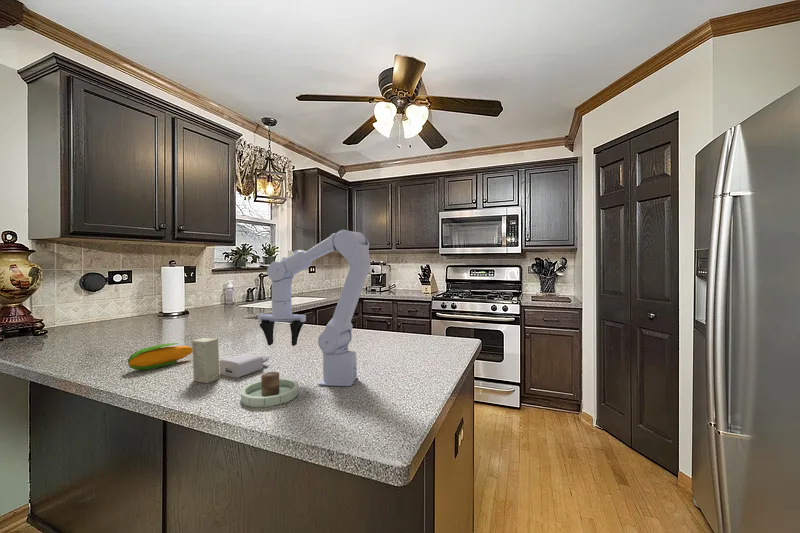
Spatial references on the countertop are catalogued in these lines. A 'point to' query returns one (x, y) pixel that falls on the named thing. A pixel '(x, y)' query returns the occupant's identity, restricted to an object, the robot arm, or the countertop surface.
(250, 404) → the round tray
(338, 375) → the robot arm
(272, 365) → the countertop surface
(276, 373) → the walnut bead
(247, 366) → the charger
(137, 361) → the corn
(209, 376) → the skincare box
